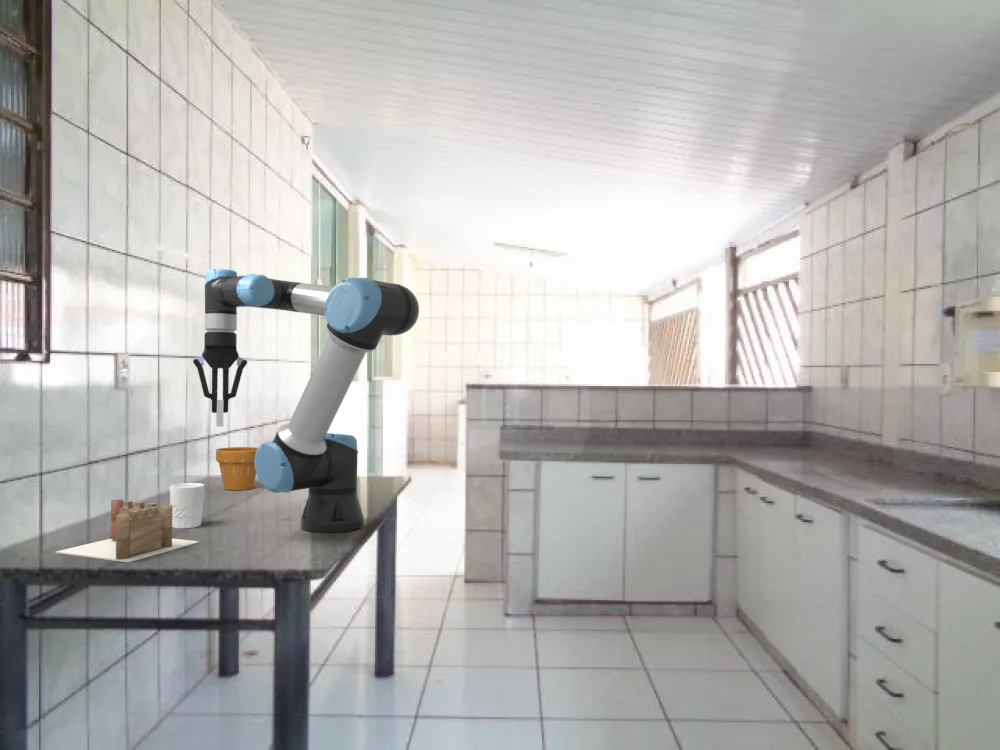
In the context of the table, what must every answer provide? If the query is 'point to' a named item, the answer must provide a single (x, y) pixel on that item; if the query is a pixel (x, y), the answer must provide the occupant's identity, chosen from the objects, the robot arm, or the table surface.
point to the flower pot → (237, 467)
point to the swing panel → (125, 511)
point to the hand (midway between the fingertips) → (219, 426)
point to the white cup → (187, 504)
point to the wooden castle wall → (143, 530)
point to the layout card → (108, 550)
